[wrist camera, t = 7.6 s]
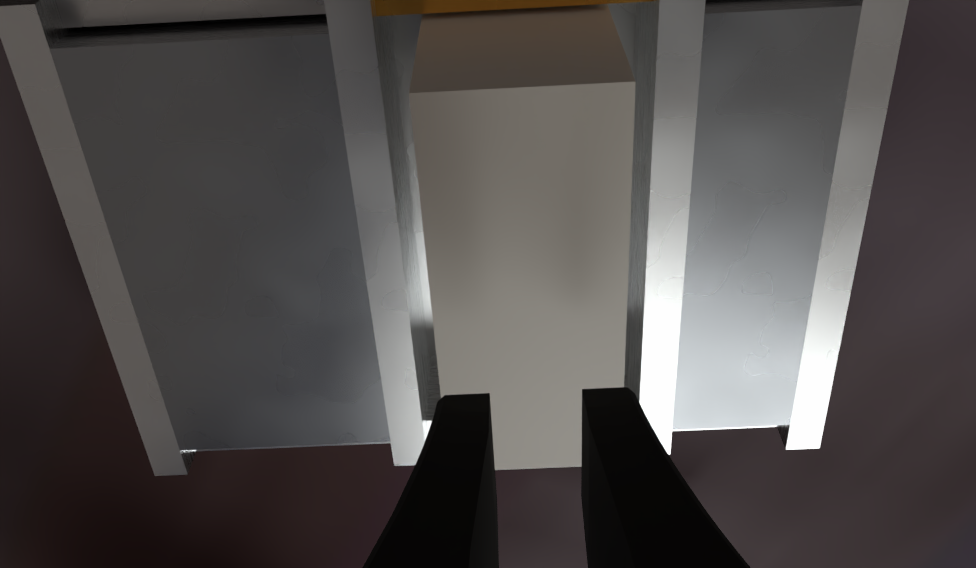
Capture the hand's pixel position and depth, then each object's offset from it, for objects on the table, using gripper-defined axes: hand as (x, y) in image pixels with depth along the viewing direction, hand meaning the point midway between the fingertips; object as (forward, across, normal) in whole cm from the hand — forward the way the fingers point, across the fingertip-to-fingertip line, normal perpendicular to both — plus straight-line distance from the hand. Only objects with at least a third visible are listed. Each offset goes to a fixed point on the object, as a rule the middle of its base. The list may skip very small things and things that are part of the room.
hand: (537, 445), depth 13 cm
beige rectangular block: (+7, 0, -1) cm, 7 cm away
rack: (+8, +1, 0) cm, 8 cm away
